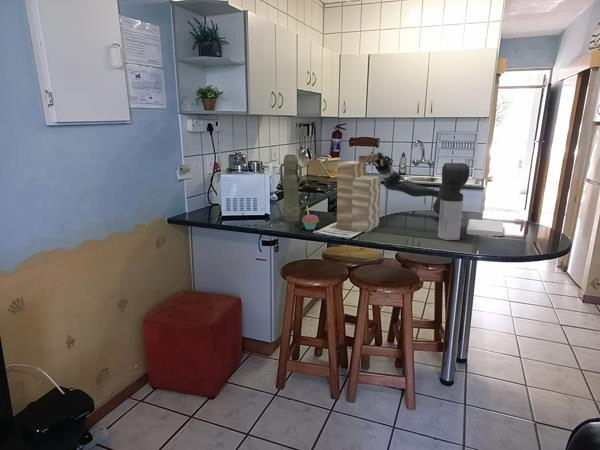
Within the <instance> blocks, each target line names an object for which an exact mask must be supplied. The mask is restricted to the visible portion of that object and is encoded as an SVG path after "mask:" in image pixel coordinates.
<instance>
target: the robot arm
mask: <svg viewBox="0 0 600 450" xmlns="http://www.w3.org/2000/svg"><path fill="white" fill-rule="evenodd" d="M373 153H374V152H373V151H372V152H370V154H373ZM377 153H378V157H379V159H380V160H375V161H371V162H367V165H371V164H372V165H373V166H374V167H375V169H376V171H377V172H378V174H379V175H380V176H381V177H382V178H383V180H384V182H383V185H384V188H386V189H387V190H390V191H397V192H402V193H404V194H406V195H408V196H410V197H415V198H418V197H435V198H436V200H434V203H433V205H432V209H433V212H435V213H436V214H437V215H438V216H439V218H438V229H437V237H438V238H439V239H442V240H445V241H460V238H461V227H462V216H463V203H464V194H463V193H462V192H461V190H462V188H463V187H464V186H465V185H466V184H467V182H468V180H469V177H470V167H469V165H468V164H466V163H463V162H445V163H444V164H443V166H442V169H441V185H440V187H439V188H438V189H439V190H437V189H434V188H430V187H426V186H423V185H420V184H417V183H416V182H413V181H411V180H408V179H405V180H403V181H402V182H401V183H400V181H401V179H402V178H401V177H402V176H401V174H400V173H398V172H397V171H395V170H394V167H393V165H394V164H393V163H394V160H393V158H391V157H389V156H387V155H384V154H383V155H382V154H381V153H382V152H380V151H379V152H377ZM399 183H400V184H399Z"/></svg>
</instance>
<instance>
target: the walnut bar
mask: <svg viewBox="0 0 600 450" xmlns="http://www.w3.org/2000/svg"><path fill="white" fill-rule="evenodd" d="M380 153H381V154H382V155H383V156H384V153H383V152H380ZM375 160H380V159H379V157H378V152H375V153H374V152H373V154H371V153H368V154H363V155H362V154H361V155H359V156H358V161H359V163H366V164H367V163H368V162H371V161H375Z"/></svg>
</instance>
